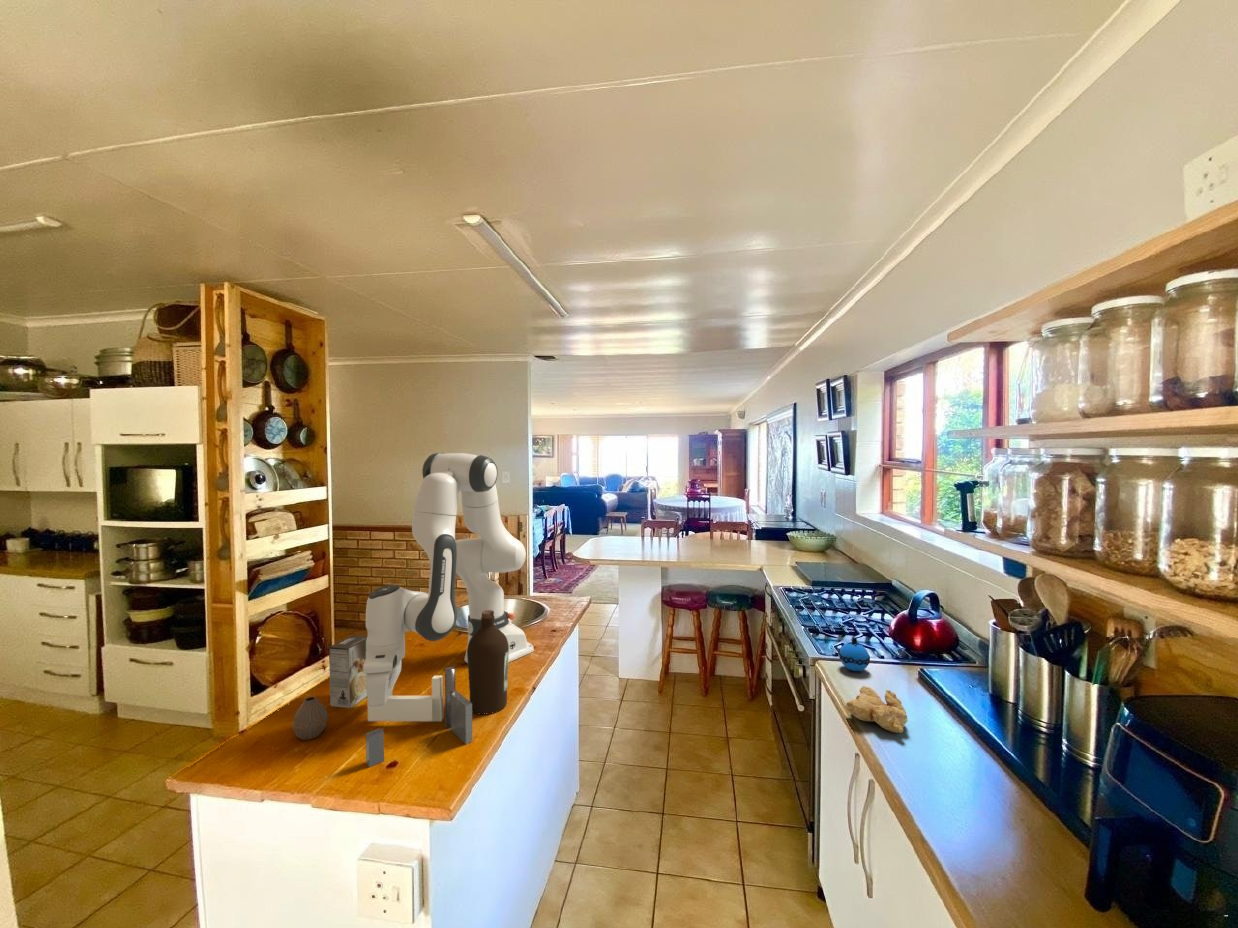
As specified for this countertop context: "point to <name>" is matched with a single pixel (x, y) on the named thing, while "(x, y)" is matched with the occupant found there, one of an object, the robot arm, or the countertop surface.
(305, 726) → the vase
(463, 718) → the gate posts
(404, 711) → the gate
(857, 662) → the ornament
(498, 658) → the olive oil
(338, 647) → the coffee box
